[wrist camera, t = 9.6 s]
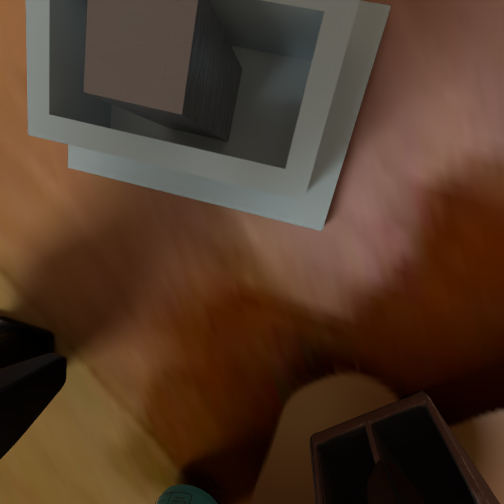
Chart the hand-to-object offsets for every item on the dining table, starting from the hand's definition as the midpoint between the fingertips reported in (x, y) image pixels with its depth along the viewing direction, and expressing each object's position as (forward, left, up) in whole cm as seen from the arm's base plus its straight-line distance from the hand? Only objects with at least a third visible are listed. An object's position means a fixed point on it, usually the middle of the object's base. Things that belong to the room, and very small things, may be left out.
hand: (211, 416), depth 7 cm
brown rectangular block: (-6, +10, -12) cm, 16 cm away
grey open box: (-6, +10, -12) cm, 17 cm away
